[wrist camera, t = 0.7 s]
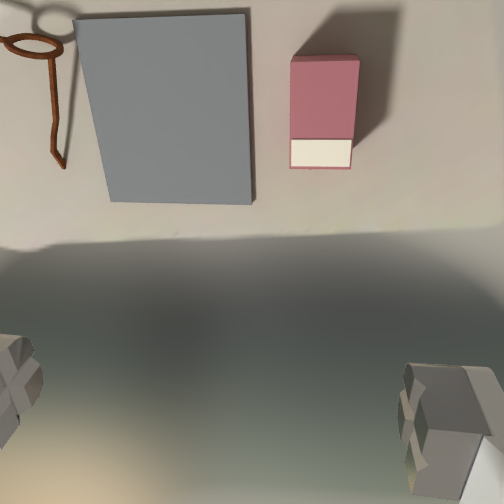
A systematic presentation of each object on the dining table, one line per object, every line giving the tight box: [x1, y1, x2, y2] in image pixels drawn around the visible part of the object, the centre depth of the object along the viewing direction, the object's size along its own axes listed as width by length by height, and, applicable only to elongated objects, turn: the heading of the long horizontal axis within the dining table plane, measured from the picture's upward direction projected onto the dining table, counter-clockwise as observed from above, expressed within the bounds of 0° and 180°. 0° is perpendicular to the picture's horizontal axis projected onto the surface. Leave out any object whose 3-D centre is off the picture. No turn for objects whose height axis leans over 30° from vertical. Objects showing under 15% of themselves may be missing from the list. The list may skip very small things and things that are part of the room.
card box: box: [290, 54, 360, 169], centre depth 39 cm, size 9×6×5 cm, turn 2°
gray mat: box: [72, 14, 252, 205], centre depth 43 cm, size 18×16×1 cm
